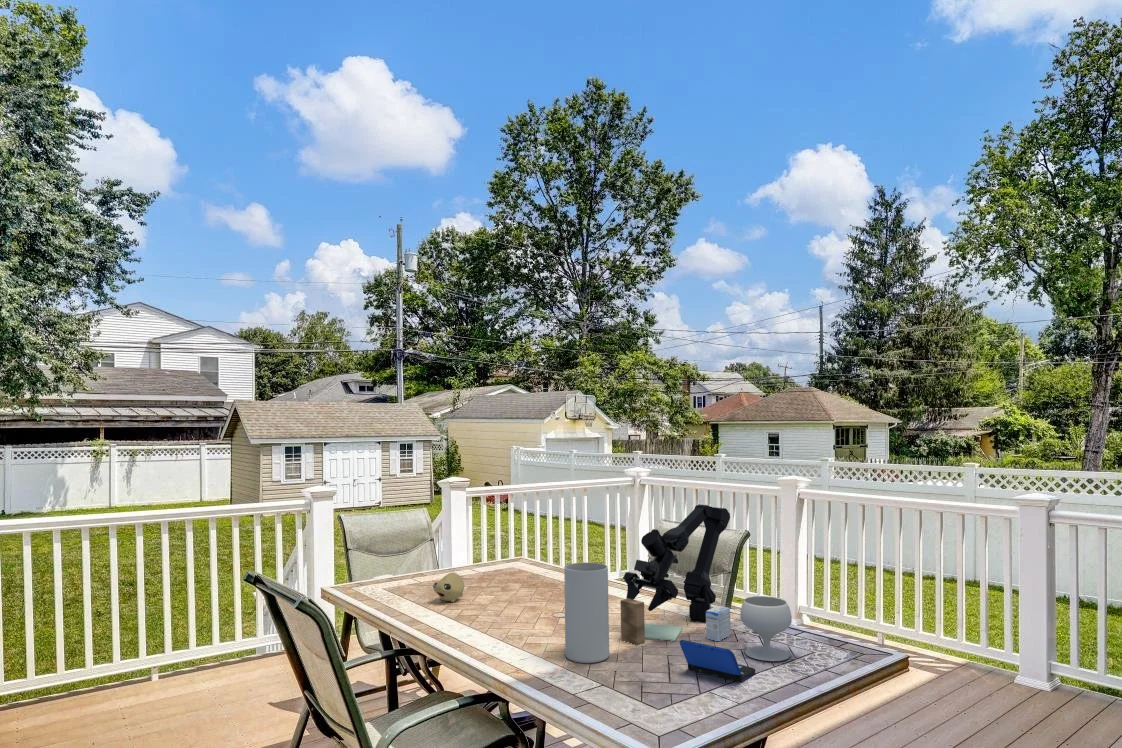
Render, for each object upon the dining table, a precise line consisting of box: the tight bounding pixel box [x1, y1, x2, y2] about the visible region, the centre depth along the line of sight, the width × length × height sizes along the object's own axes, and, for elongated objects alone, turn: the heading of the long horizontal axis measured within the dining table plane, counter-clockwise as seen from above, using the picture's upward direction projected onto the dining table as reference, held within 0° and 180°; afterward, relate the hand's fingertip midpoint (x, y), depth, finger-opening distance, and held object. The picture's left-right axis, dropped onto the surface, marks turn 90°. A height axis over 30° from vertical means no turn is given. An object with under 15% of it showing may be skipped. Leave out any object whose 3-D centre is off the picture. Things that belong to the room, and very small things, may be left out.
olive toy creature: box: [432, 571, 465, 603], centre depth 253 cm, size 10×12×11 cm
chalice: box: [739, 595, 793, 662], centre depth 189 cm, size 14×14×15 cm
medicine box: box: [705, 605, 731, 642], centre depth 205 cm, size 8×4×9 cm, turn 141°
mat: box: [645, 622, 684, 642], centre depth 211 cm, size 16×14×1 cm
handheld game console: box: [679, 639, 756, 684], centre depth 175 cm, size 16×13×9 cm
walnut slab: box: [620, 598, 646, 646], centre depth 202 cm, size 6×4×12 cm, turn 42°
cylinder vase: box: [563, 562, 610, 664], centre depth 190 cm, size 12×12×25 cm
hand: (637, 607), depth 204 cm, fingers open, 9 cm apart
